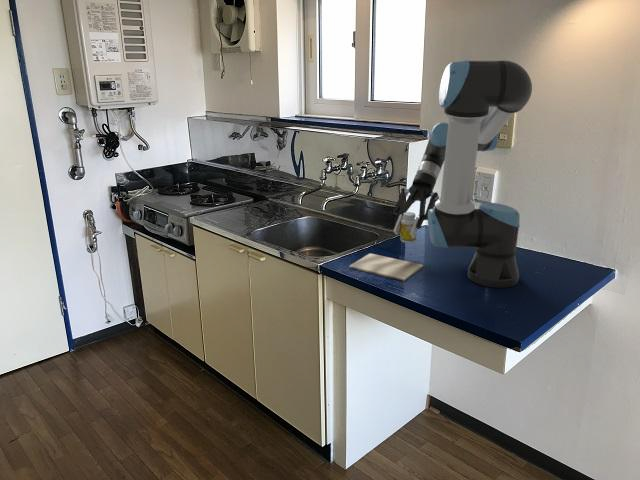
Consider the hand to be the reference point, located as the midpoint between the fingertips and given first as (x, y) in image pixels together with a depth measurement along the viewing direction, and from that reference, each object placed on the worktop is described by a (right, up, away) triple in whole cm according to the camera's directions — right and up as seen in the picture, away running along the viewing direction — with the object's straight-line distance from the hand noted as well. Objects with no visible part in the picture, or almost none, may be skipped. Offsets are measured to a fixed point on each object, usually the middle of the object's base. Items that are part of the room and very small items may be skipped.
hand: (403, 234), depth 173 cm
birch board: (-6, -11, -3) cm, 13 cm away
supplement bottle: (+2, -2, +4) cm, 5 cm away
